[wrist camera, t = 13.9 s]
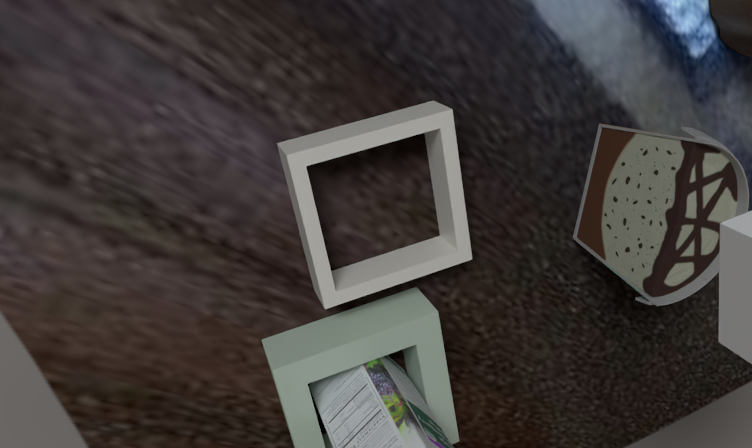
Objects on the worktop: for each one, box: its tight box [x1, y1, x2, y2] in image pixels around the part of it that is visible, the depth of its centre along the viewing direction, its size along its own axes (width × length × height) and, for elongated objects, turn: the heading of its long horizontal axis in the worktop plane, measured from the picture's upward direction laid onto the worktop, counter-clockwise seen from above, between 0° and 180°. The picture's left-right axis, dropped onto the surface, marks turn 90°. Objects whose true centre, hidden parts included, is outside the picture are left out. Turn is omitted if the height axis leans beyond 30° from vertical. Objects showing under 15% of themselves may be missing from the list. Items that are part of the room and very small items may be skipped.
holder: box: [277, 101, 472, 309], centre depth 44 cm, size 11×11×3 cm
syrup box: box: [309, 355, 454, 448], centre depth 44 cm, size 6×6×14 cm
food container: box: [573, 124, 749, 306], centre depth 48 cm, size 12×6×10 cm, turn 173°
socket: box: [262, 287, 459, 448], centre depth 48 cm, size 12×12×4 cm
